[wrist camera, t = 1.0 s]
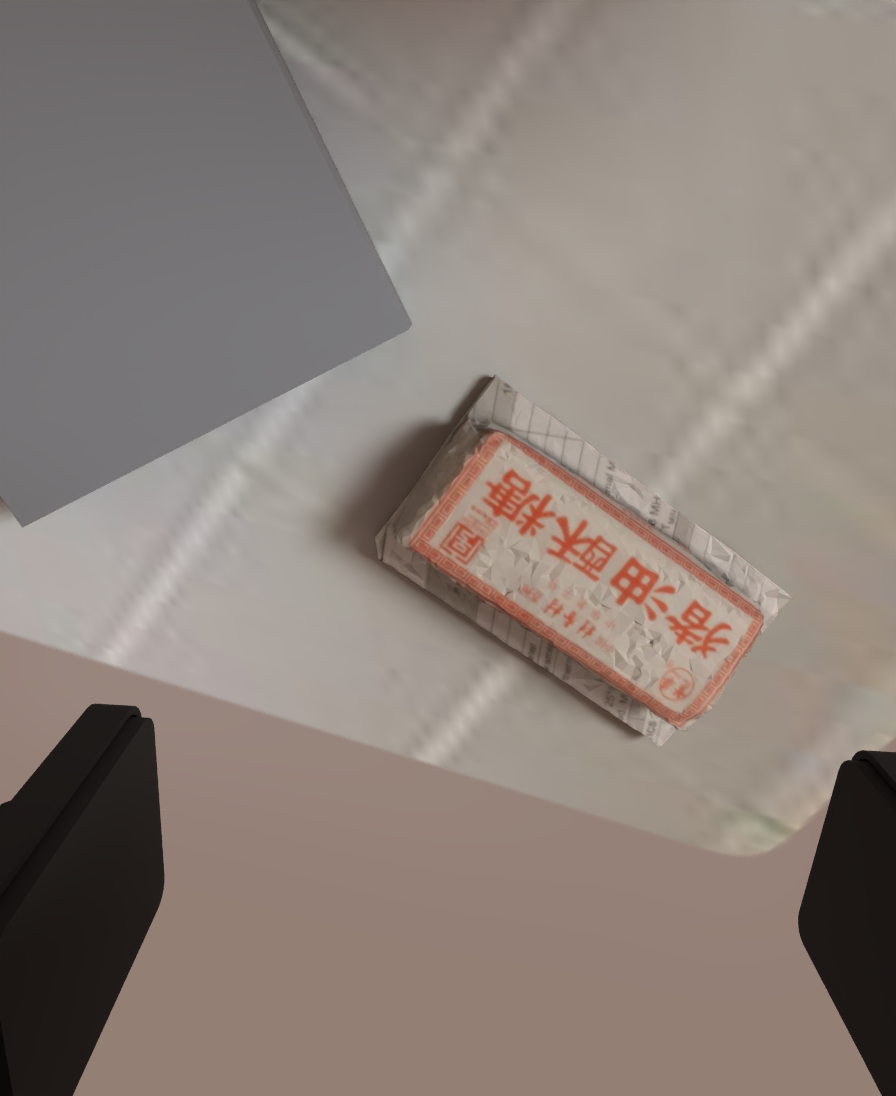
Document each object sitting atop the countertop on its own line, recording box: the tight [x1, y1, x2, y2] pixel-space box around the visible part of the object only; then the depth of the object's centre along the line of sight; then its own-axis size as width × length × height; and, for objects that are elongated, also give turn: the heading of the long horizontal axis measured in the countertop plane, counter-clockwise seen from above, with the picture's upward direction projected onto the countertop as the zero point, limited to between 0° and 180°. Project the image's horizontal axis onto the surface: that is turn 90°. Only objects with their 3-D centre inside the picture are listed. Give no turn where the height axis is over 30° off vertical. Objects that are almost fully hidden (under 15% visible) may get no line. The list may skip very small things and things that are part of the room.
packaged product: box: [375, 375, 793, 746], centre depth 36 cm, size 18×5×10 cm
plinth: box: [0, 0, 412, 527], centre depth 30 cm, size 18×18×4 cm
